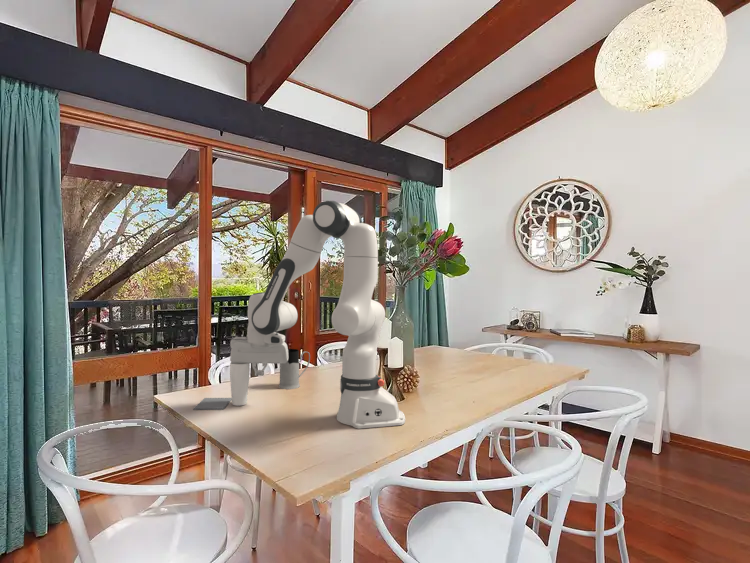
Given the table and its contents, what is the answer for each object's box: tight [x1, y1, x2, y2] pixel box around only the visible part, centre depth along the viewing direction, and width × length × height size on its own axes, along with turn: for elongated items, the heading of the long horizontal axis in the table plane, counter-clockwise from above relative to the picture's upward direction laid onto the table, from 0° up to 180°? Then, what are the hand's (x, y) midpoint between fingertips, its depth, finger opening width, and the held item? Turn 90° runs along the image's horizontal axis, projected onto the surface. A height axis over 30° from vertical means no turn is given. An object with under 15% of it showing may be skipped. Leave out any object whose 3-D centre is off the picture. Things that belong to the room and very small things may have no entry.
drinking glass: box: [229, 361, 251, 407], centre depth 151 cm, size 7×7×15 cm
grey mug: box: [278, 348, 311, 390], centre depth 177 cm, size 9×14×15 cm, turn 131°
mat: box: [192, 397, 232, 411], centre depth 151 cm, size 10×12×1 cm
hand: (259, 375), depth 152 cm, fingers closed
